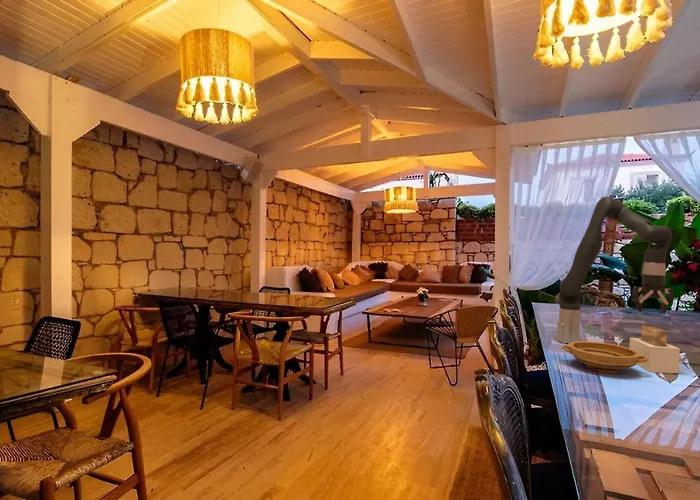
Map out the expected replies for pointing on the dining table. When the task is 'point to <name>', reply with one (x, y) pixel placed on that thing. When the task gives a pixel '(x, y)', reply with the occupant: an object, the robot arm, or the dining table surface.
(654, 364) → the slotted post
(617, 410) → the dining table surface
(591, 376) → the dining table surface
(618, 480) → the dining table surface
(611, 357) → the ceramic bowl
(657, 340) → the tan wooden block
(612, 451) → the dining table surface
